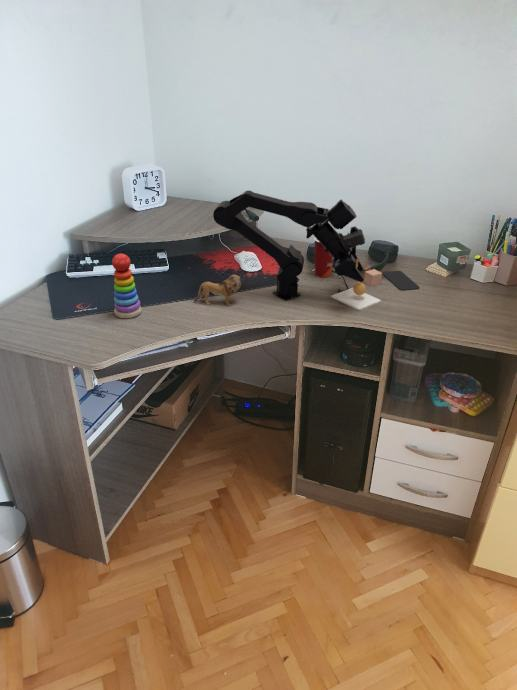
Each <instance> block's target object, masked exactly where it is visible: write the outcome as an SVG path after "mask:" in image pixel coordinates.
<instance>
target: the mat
mask: <svg viewBox="0 0 517 690" xmlns="http://www.w3.org/2000/svg"><path fill="white" fill-rule="evenodd" d="M330 298H332V299H334V300H336V301H338V302H340V303H342V304H344V305H346V306H349V308H352V309H354V310H357V311H362V310H365V309H368V308H370V307H373V306H375V305H377V304H380V303H381V302H382V300H381V299H379V298H377V297H375V296H372V295H370V294H368V293H366V292H365V293H364V294H363V295H356V294H355V293H354V291H353V287H351V288H349V289H346V290H342V291H341V292H337V293H335V294H333V295H330Z"/></svg>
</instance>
